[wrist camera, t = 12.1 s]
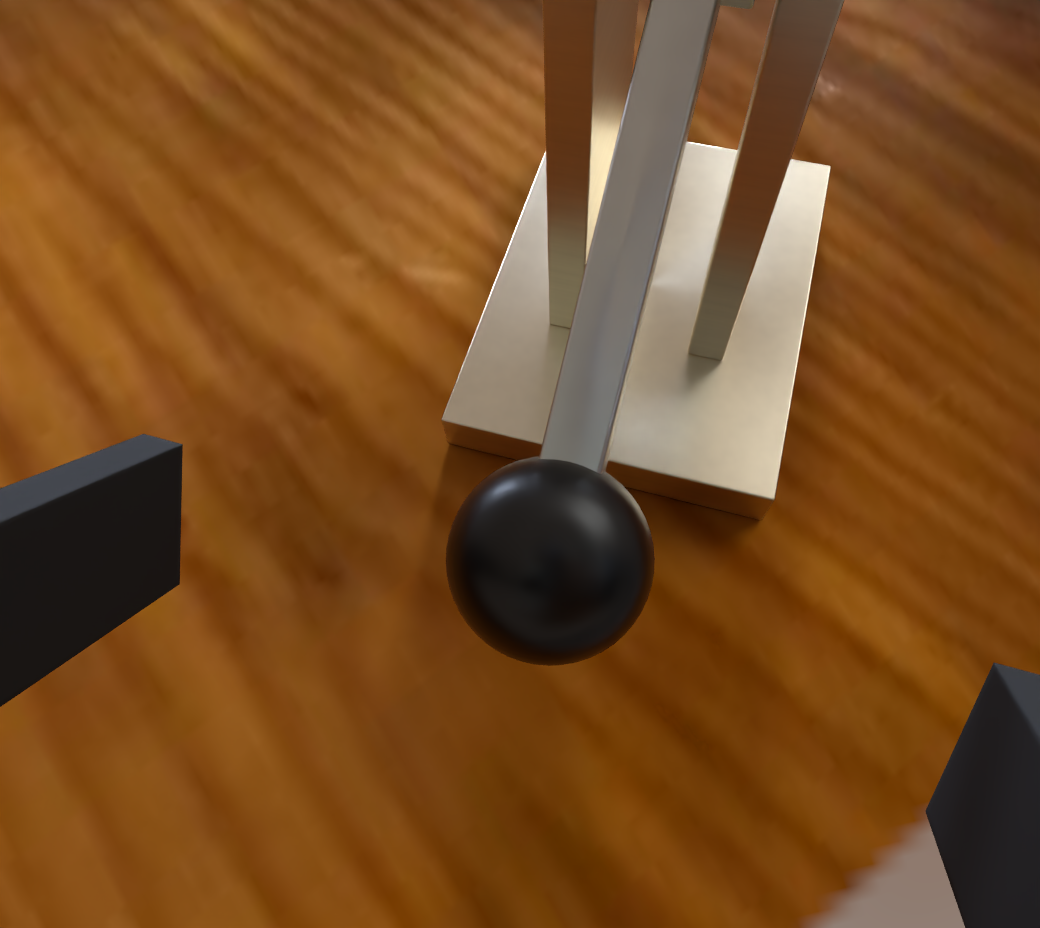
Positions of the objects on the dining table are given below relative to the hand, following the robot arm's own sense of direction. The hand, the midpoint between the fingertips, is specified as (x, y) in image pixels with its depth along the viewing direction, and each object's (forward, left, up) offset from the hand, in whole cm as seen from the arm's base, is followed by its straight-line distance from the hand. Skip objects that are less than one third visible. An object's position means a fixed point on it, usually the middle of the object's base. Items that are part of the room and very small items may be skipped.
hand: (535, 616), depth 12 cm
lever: (+6, -3, 0) cm, 7 cm away
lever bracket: (+11, -6, -7) cm, 14 cm away
